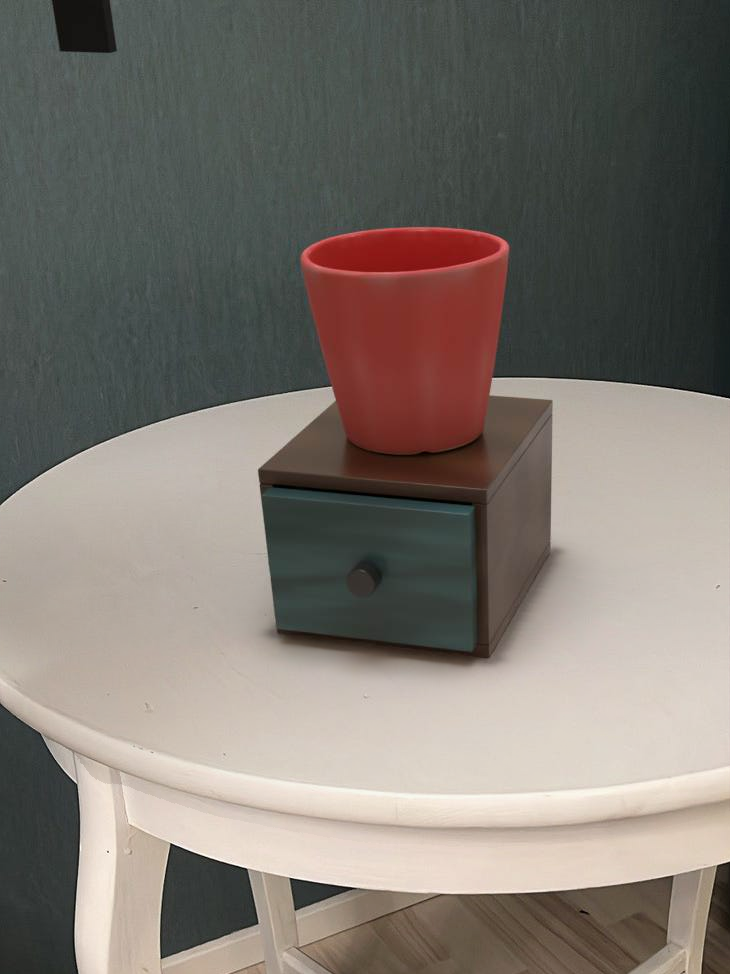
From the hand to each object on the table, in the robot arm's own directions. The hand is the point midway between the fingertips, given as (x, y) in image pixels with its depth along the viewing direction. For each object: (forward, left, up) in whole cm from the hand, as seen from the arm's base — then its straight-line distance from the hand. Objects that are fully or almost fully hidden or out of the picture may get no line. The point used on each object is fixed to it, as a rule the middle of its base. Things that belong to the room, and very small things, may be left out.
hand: (15, 69), depth 61 cm
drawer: (+10, +13, -27) cm, 32 cm away
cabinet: (+9, +15, -28) cm, 33 cm away
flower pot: (+9, +15, -19) cm, 26 cm away
